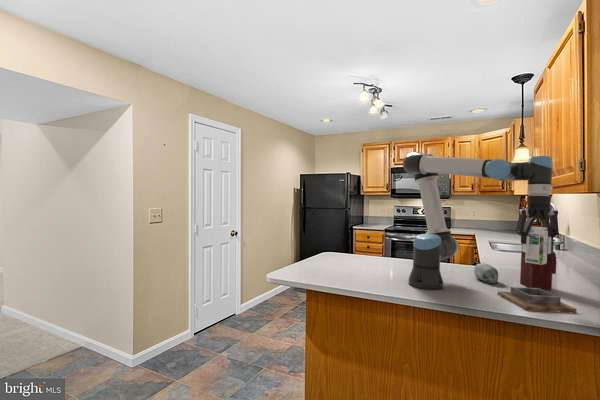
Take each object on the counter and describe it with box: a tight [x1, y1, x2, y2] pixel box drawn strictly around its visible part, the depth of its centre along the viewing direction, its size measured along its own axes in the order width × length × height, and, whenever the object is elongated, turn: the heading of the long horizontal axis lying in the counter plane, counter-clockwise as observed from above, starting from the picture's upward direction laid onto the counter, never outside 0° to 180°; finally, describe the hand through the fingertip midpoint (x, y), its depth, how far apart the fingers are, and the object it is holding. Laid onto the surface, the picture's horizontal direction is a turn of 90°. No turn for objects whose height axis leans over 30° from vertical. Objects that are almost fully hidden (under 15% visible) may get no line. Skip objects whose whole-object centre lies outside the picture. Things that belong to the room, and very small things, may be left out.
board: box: [497, 286, 577, 314], centre depth 124 cm, size 18×18×4 cm
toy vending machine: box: [519, 240, 557, 291], centre depth 146 cm, size 9×11×28 cm
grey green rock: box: [473, 263, 499, 284], centre depth 156 cm, size 14×10×10 cm
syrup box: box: [525, 225, 548, 265], centre depth 123 cm, size 6×6×14 cm
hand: (536, 252), depth 123 cm, fingers closed on syrup box, 8 cm apart
